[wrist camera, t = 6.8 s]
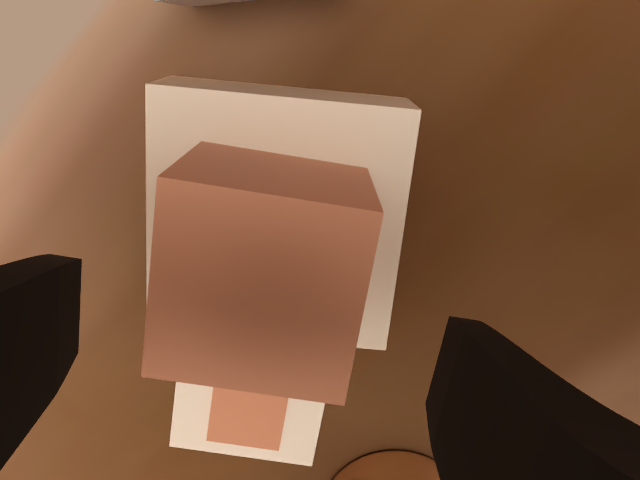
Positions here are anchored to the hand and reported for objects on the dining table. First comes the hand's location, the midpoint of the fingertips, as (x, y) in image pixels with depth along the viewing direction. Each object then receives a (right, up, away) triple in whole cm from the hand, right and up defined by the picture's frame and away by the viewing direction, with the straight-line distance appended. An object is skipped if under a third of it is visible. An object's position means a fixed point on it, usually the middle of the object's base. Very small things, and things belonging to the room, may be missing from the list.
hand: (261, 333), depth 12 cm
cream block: (0, +3, +10) cm, 11 cm away
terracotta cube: (0, +2, +7) cm, 7 cm away
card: (-2, -5, +13) cm, 14 cm away
